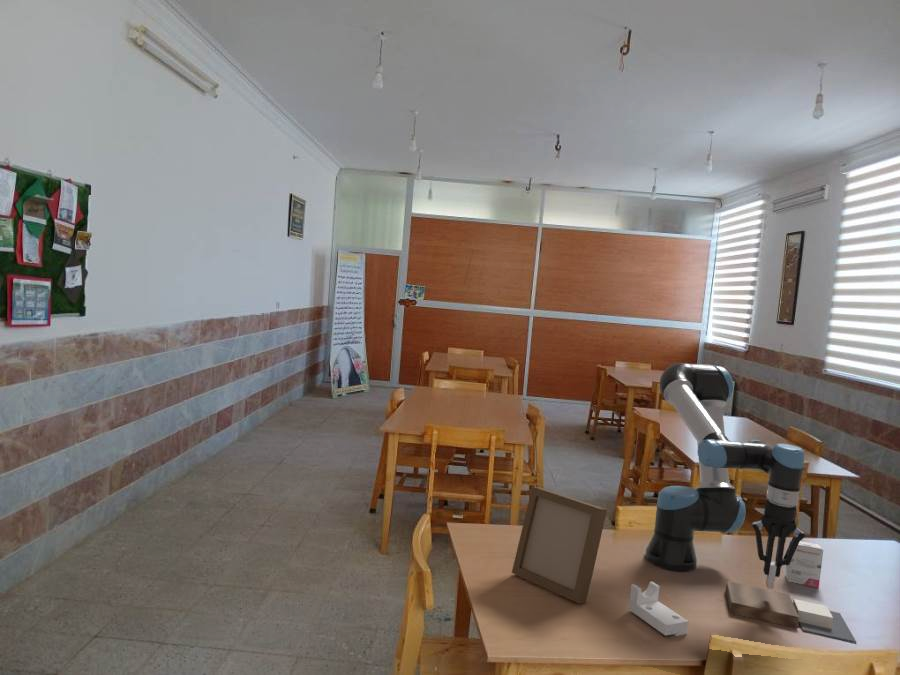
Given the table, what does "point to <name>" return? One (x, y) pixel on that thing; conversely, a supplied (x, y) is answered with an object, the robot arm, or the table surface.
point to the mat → (837, 631)
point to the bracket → (656, 611)
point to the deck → (761, 604)
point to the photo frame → (559, 543)
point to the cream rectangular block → (813, 613)
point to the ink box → (805, 565)
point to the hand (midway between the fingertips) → (769, 586)
